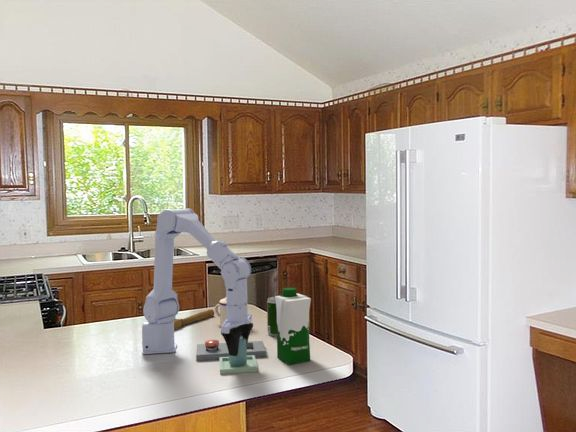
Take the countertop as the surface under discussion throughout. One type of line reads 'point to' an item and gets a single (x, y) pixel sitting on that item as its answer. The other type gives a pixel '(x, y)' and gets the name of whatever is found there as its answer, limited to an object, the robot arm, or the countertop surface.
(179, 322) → the tap handle
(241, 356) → the rotary knob
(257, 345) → the housing
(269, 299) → the beer can
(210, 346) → the plunger
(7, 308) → the countertop surface
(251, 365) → the tray
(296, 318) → the milk carton
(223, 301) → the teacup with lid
